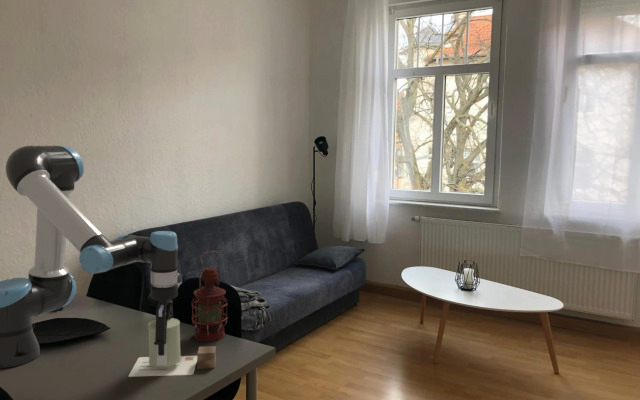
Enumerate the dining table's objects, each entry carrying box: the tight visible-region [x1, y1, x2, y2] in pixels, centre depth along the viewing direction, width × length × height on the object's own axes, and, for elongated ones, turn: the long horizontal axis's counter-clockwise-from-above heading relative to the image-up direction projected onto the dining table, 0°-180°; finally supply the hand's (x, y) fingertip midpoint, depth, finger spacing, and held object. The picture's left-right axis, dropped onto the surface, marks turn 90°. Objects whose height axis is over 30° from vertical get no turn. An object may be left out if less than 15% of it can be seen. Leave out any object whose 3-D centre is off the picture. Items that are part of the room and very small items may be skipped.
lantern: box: [191, 250, 229, 343], centre depth 172 cm, size 12×12×30 cm
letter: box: [128, 355, 197, 378], centre depth 149 cm, size 18×13×1 cm
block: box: [196, 345, 217, 370], centre depth 151 cm, size 5×5×5 cm
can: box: [147, 317, 182, 367], centre depth 148 cm, size 9×9×12 cm
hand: (164, 357), depth 149 cm, fingers closed on can, 9 cm apart
